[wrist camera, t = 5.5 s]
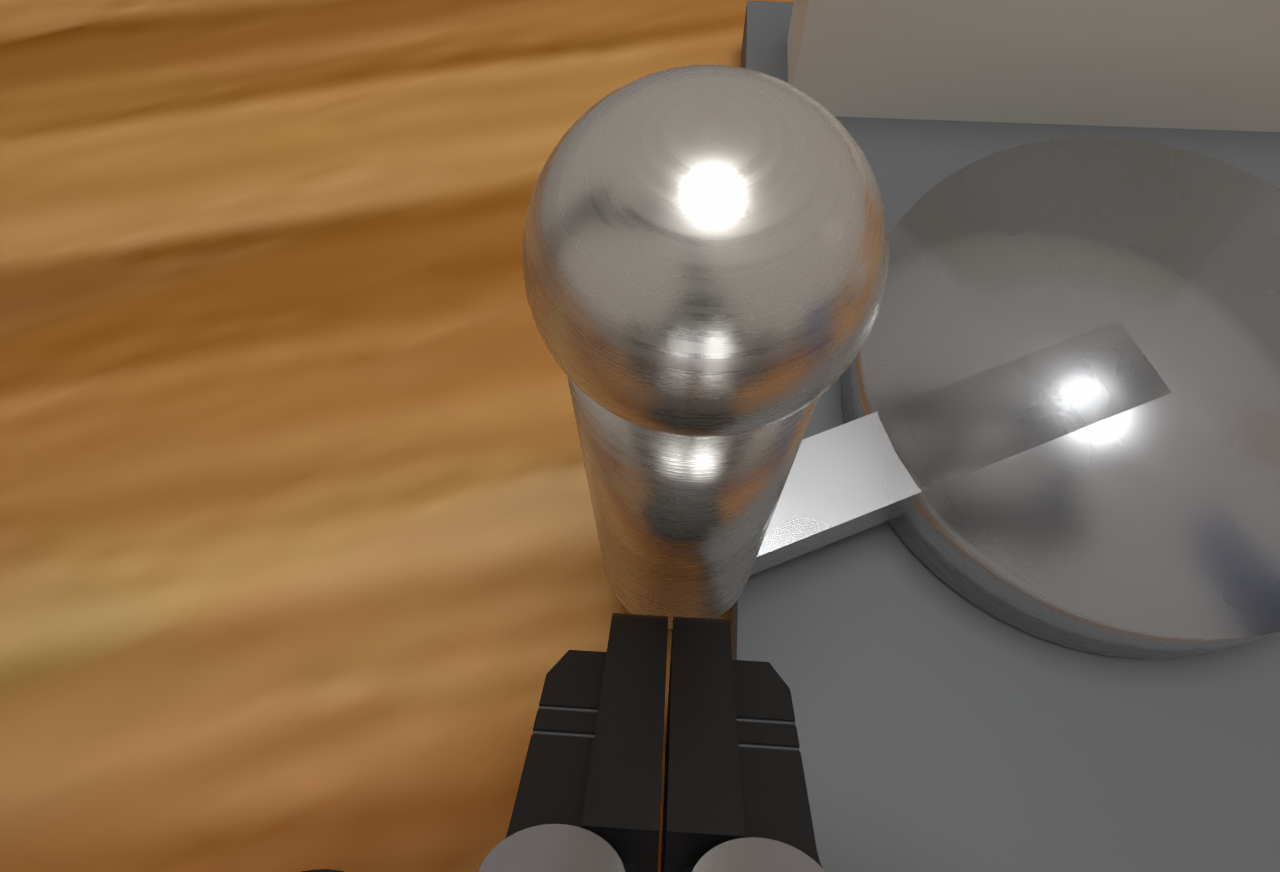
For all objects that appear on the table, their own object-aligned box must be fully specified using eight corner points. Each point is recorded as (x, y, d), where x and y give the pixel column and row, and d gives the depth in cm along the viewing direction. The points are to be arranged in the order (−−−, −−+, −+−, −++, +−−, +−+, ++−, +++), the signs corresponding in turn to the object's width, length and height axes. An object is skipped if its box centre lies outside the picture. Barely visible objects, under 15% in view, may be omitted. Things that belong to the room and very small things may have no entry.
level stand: (724, 1012, 15) (770, 1137, 9) (741, 48, 24) (770, -212, 18) (1583, 1074, 14) (2241, 1253, 8) (1276, 65, 23) (1492, -197, 17)
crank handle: (708, 881, 14) (854, 1040, 4) (514, 372, 18) (326, -232, 8) (1477, 539, 16) (2898, 50, 6) (1159, 146, 20) (1695, -569, 10)
